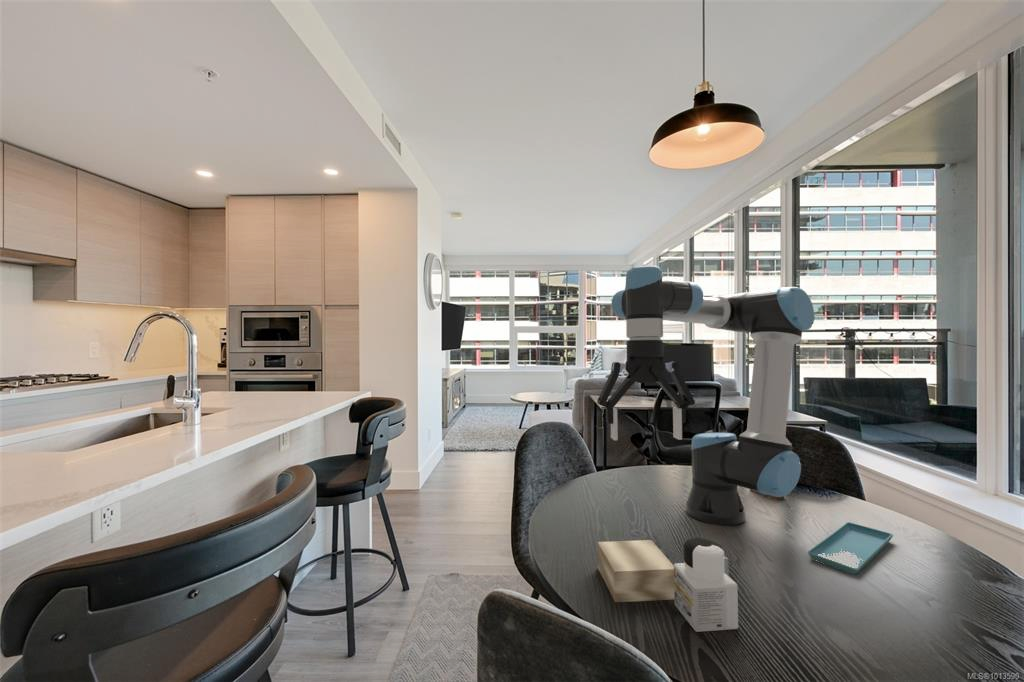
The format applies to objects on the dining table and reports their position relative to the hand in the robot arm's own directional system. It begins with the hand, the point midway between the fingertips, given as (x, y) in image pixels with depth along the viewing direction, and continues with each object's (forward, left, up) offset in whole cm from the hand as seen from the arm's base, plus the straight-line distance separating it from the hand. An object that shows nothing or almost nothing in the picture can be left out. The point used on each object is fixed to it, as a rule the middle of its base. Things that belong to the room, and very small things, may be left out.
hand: (645, 438), depth 87 cm
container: (-5, +14, -29) cm, 32 cm away
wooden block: (-55, -45, -29) cm, 77 cm away
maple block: (+4, +3, -29) cm, 29 cm away
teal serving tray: (-51, -8, -29) cm, 60 cm away
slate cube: (-12, +2, -29) cm, 31 cm away
